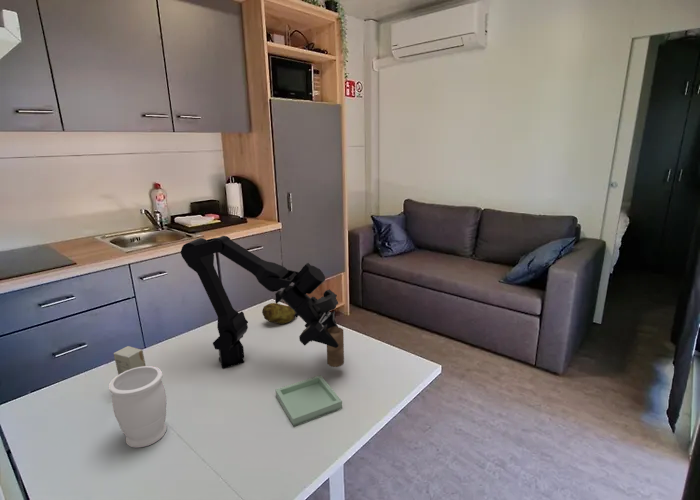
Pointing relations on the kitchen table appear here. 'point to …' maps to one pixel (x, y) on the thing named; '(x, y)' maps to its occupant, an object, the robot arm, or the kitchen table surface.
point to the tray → (308, 400)
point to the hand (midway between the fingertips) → (339, 342)
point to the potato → (278, 313)
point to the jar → (140, 405)
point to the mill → (336, 354)
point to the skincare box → (129, 359)
